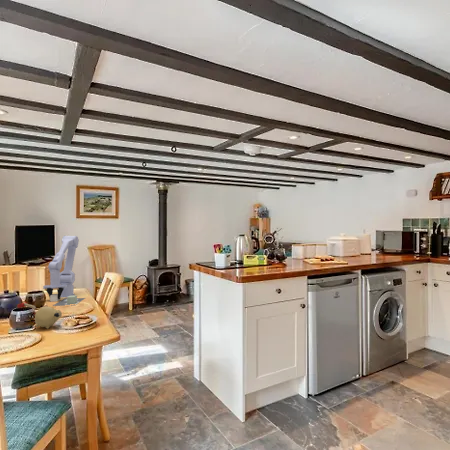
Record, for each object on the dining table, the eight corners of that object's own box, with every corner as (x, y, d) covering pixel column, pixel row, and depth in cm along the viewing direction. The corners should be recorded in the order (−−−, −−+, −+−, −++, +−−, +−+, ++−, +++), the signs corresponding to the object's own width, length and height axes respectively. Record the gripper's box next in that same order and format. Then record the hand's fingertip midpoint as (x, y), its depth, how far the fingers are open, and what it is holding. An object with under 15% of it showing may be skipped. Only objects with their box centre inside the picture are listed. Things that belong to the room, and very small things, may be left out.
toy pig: (58, 329, 156) (58, 308, 156) (31, 331, 153) (31, 309, 153) (63, 323, 165) (63, 303, 165) (38, 325, 162) (38, 304, 162)
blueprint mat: (64, 298, 219) (64, 298, 219) (85, 298, 220) (85, 297, 220) (52, 306, 199) (52, 305, 199) (75, 305, 201) (75, 305, 201)
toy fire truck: (40, 322, 167) (40, 304, 167) (17, 321, 168) (17, 303, 168) (45, 320, 170) (45, 302, 170) (21, 319, 172) (21, 302, 172)
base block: (69, 302, 208) (69, 295, 208) (76, 302, 209) (76, 295, 209) (67, 304, 204) (67, 297, 204) (74, 303, 204) (74, 297, 204)
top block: (53, 300, 215) (53, 293, 215) (59, 300, 215) (60, 293, 215) (50, 302, 210) (50, 295, 210) (57, 302, 211) (57, 295, 211)
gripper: (41, 280, 208) (41, 300, 208) (63, 280, 209) (63, 300, 209) (46, 278, 215) (45, 298, 215) (68, 278, 216) (68, 297, 216)
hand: (55, 299), depth 213 cm, fingers closed on top block, 4 cm apart
